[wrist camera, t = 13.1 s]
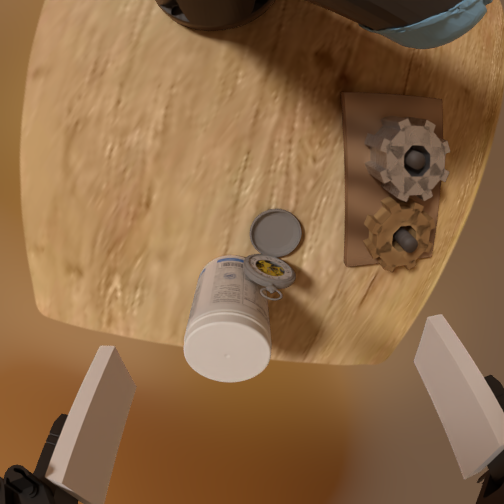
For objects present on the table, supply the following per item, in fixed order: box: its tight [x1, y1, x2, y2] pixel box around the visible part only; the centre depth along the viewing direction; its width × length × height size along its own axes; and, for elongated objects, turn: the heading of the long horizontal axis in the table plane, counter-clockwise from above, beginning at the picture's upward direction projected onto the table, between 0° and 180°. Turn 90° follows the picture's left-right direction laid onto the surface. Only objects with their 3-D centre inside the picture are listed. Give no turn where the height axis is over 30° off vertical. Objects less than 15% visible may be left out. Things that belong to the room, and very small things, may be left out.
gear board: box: [341, 92, 443, 272], centre depth 34 cm, size 23×14×6 cm, turn 6°
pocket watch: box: [243, 209, 302, 300], centre depth 36 cm, size 8×8×10 cm
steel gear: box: [364, 115, 450, 202], centre depth 32 cm, size 10×10×5 cm
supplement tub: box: [184, 255, 272, 382], centre depth 37 cm, size 10×10×15 cm
